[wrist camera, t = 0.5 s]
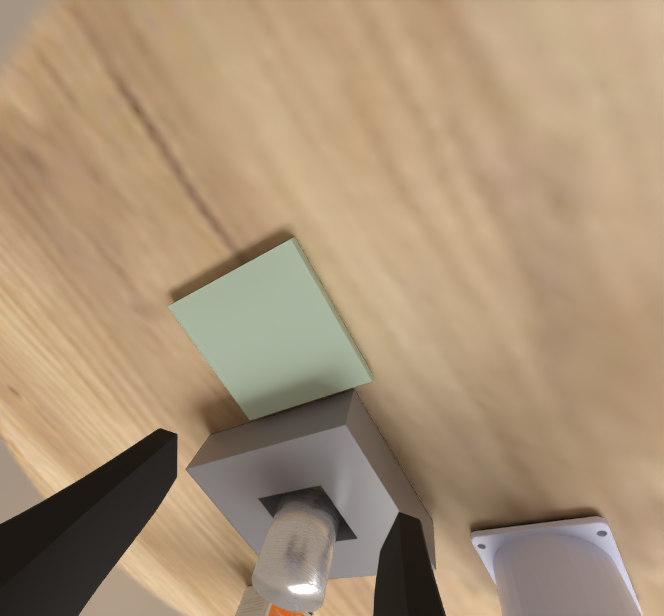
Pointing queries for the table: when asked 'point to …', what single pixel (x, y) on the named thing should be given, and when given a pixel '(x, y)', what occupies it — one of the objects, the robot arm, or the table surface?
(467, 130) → the table surface
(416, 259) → the table surface
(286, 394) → the mat
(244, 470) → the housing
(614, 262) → the table surface
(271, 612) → the skincare box
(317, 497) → the plug
